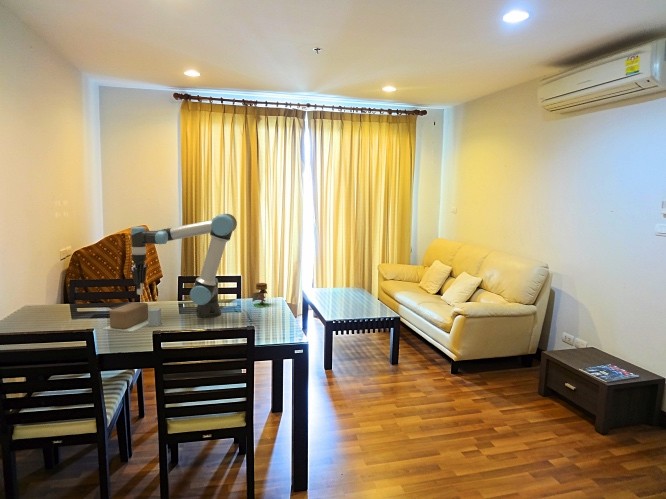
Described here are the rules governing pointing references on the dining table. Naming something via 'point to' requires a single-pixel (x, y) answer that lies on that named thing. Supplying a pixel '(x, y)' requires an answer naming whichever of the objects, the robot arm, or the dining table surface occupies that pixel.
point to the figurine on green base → (260, 295)
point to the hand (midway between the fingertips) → (139, 294)
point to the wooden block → (128, 315)
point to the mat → (130, 329)
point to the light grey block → (154, 316)
